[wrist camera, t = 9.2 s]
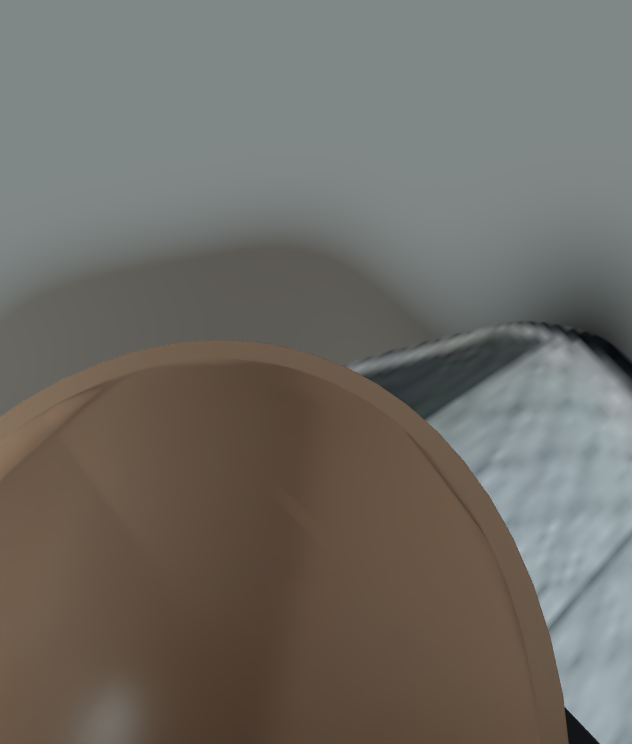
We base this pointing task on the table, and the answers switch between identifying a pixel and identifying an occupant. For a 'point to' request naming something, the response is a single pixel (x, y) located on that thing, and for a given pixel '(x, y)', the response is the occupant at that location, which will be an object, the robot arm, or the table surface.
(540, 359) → the table surface
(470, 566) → the knob
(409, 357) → the table surface
